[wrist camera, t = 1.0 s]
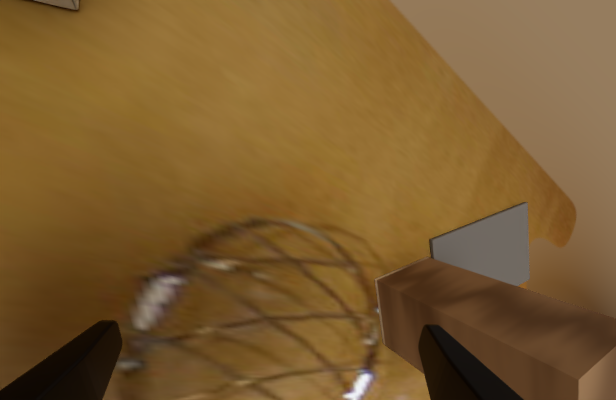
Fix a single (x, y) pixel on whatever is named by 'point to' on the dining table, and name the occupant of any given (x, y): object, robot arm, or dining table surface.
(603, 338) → the walnut block
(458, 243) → the rubber mat
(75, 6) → the tea box
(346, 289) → the dining table surface
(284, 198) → the dining table surface
